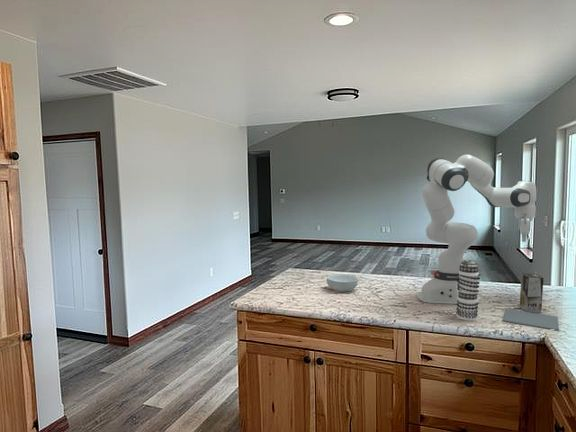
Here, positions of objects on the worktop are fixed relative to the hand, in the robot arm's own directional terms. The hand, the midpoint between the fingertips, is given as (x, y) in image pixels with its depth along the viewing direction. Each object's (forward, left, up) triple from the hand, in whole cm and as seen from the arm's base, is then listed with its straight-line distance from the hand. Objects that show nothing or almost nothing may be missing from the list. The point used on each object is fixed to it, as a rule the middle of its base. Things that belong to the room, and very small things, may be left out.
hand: (523, 241), depth 197 cm
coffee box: (-6, -16, -30) cm, 34 cm away
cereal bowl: (-87, +20, -30) cm, 94 cm away
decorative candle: (-40, -25, -30) cm, 56 cm away
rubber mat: (-14, -29, -29) cm, 44 cm away
